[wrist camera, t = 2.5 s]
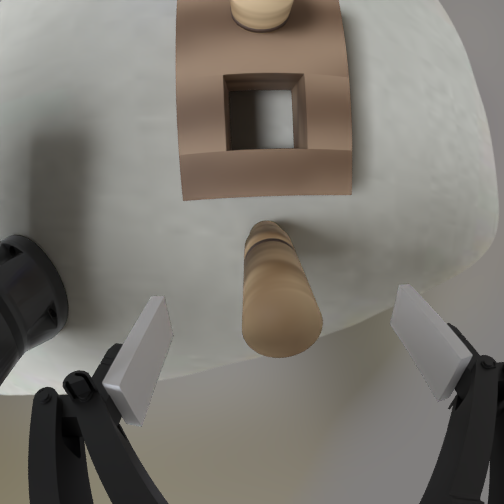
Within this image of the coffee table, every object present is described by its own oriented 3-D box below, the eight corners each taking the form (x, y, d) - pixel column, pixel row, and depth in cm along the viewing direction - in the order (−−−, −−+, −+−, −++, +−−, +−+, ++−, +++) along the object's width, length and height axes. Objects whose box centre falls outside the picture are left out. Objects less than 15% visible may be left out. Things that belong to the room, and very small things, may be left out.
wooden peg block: (328, 183, 24) (374, 207, 15) (198, 188, 24) (167, 214, 15) (318, 10, 18) (349, -42, 8) (192, 13, 18) (165, -42, 8)
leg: (257, 263, 27) (265, 367, 14) (237, 229, 26) (226, 315, 13) (294, 245, 26) (333, 338, 13) (275, 209, 25) (304, 279, 12)
